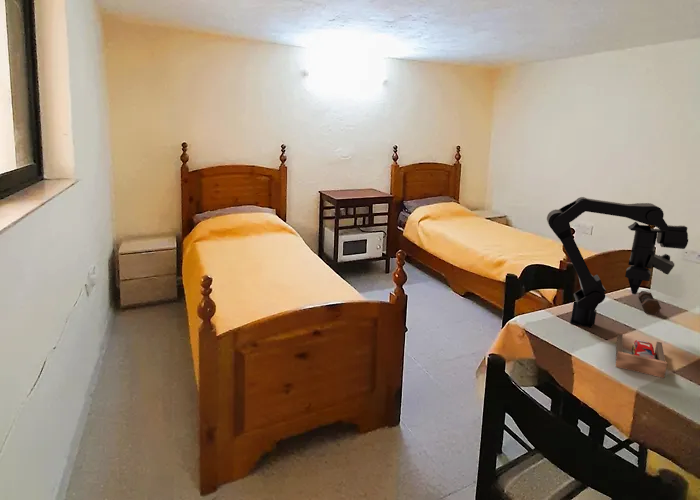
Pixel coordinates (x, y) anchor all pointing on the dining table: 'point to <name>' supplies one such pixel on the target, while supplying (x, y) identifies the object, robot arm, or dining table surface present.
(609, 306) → the dining table surface
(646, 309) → the bolt
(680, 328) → the dining table surface
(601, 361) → the dining table surface
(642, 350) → the race car
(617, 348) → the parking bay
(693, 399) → the dining table surface
